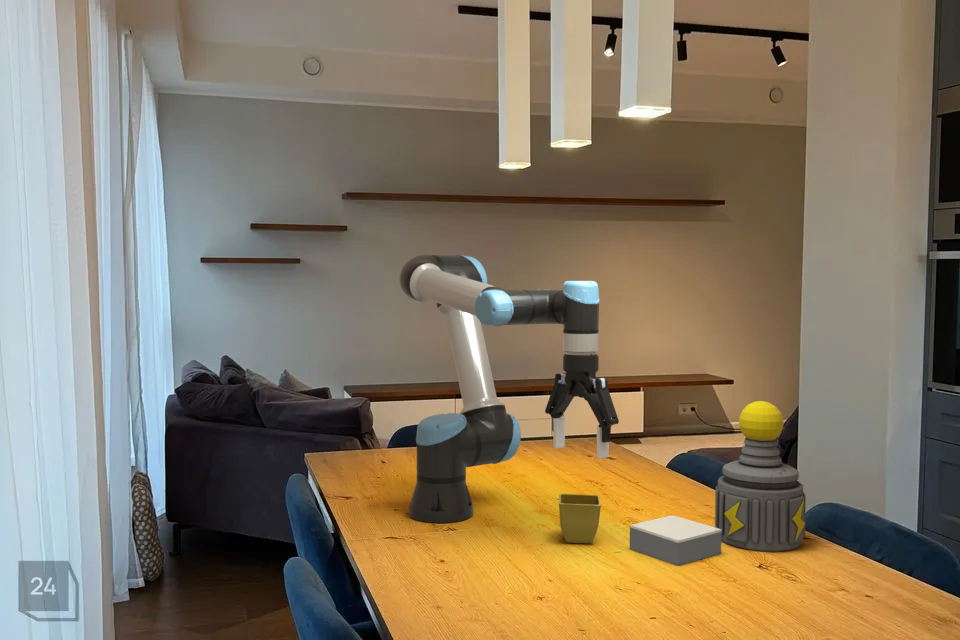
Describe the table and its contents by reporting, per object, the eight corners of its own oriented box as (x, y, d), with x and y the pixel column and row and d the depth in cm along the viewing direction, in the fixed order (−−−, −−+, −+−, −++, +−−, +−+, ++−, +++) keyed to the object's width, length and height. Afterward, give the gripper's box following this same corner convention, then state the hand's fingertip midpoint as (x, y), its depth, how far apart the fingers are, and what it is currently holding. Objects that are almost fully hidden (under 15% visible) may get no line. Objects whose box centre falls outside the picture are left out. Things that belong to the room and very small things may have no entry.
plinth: (678, 565, 168) (678, 540, 168) (629, 548, 179) (629, 525, 179) (721, 553, 176) (721, 529, 176) (672, 538, 186) (672, 515, 186)
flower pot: (599, 535, 189) (599, 494, 188) (600, 547, 180) (601, 504, 180) (558, 533, 189) (558, 493, 189) (558, 546, 181) (558, 503, 180)
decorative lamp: (695, 537, 187) (697, 400, 185) (745, 522, 199) (747, 393, 198) (774, 559, 172) (777, 410, 171) (822, 541, 184) (825, 402, 183)
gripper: (636, 356, 175) (635, 459, 176) (555, 348, 196) (554, 441, 196) (609, 358, 171) (609, 464, 172) (529, 350, 191) (529, 445, 192)
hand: (580, 452), depth 184 cm, fingers open, 13 cm apart
